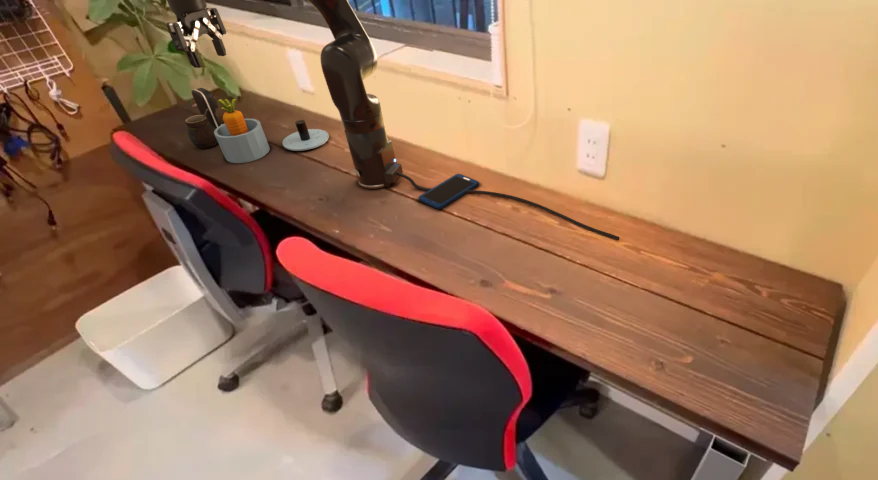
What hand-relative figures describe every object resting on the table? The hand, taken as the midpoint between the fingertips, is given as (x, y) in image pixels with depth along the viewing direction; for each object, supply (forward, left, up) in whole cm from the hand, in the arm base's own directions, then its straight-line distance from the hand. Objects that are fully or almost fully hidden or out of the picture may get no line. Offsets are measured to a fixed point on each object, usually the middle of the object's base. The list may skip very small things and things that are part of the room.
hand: (210, 61), depth 126 cm
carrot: (0, 0, -25) cm, 25 cm away
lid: (-13, -9, -24) cm, 29 cm away
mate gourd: (+15, -2, -25) cm, 29 cm away
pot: (0, 0, -25) cm, 25 cm away
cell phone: (-63, +8, -25) cm, 68 cm away
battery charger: (+21, -13, -25) cm, 35 cm away
